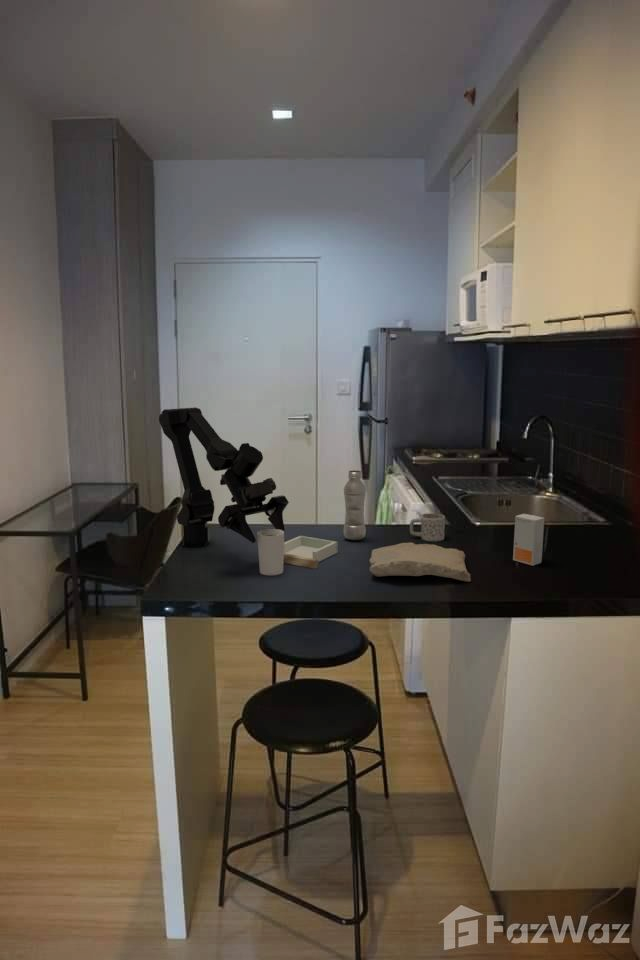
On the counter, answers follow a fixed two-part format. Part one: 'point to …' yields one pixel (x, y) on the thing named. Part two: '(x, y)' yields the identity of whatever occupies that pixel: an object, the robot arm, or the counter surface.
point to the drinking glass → (271, 551)
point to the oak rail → (300, 561)
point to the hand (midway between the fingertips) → (269, 538)
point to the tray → (311, 547)
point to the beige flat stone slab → (419, 561)
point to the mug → (430, 527)
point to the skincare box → (528, 539)
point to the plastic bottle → (354, 507)
